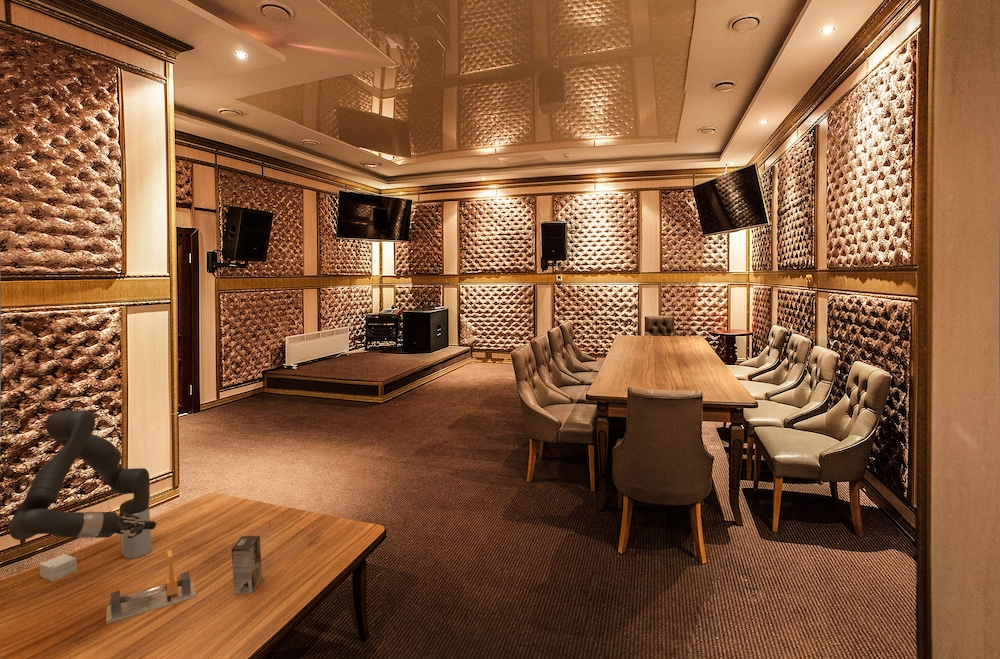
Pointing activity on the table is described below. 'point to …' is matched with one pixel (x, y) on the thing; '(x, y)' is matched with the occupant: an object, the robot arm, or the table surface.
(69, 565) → the small box
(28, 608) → the table surface
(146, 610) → the pipe stand
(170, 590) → the orange wooden plank
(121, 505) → the robot arm
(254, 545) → the coffee box
